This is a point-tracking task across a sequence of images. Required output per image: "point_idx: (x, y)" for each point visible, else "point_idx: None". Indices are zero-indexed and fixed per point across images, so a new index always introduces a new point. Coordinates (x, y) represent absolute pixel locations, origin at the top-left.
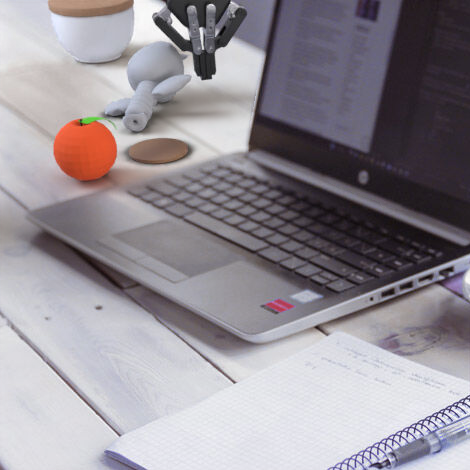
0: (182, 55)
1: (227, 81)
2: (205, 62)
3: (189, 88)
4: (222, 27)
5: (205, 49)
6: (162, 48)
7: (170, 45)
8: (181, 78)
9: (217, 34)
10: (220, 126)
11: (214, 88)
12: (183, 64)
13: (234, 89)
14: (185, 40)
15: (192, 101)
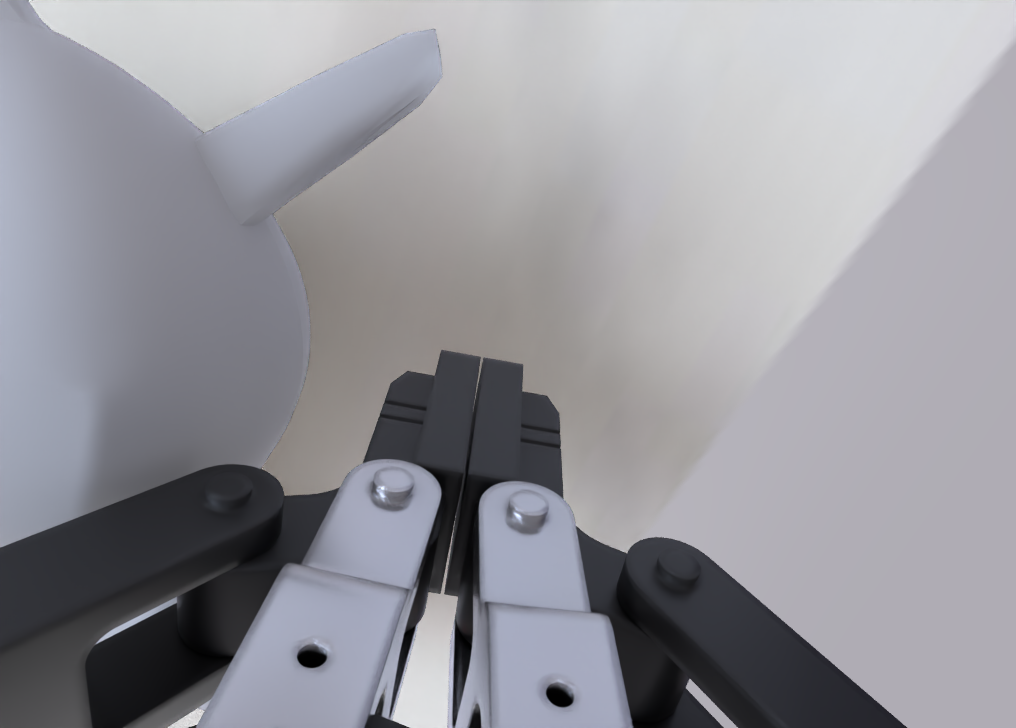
0: (337, 156)
1: (744, 94)
2: (455, 523)
3: (424, 111)
4: (729, 707)
5: (457, 603)
6: (2, 544)
7: (97, 492)
8: (200, 706)
9: (651, 614)
10: (404, 693)
11: (588, 200)
12: (288, 408)
13: (699, 284)
14: (244, 612)
15: (371, 363)
